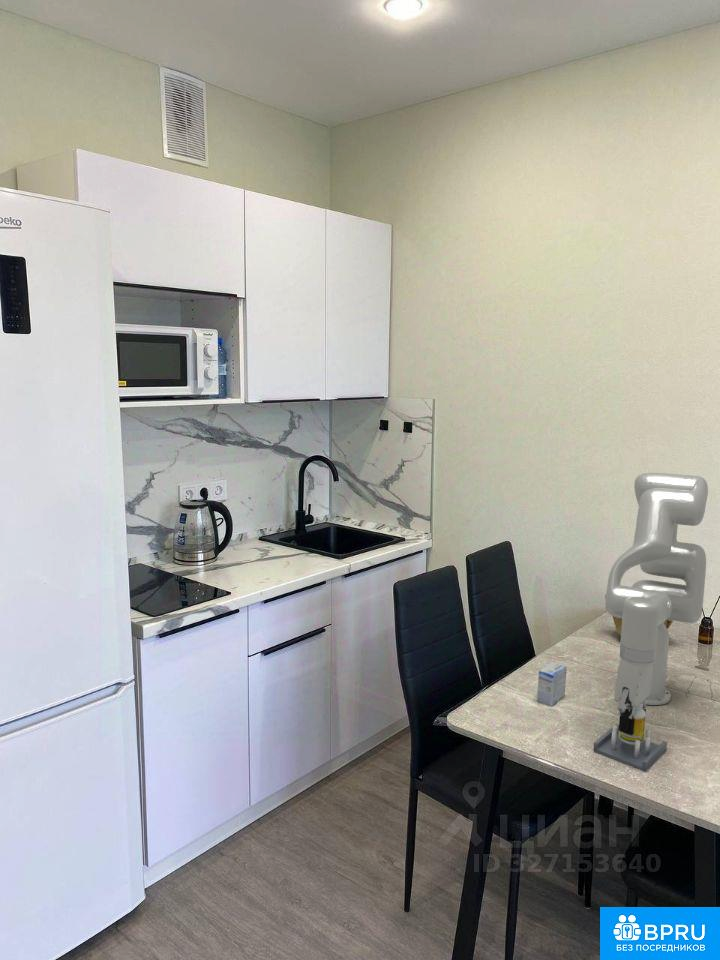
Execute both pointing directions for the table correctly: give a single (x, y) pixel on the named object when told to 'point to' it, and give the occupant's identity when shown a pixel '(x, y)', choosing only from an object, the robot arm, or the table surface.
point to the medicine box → (551, 683)
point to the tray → (629, 749)
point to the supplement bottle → (635, 726)
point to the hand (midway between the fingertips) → (631, 727)
